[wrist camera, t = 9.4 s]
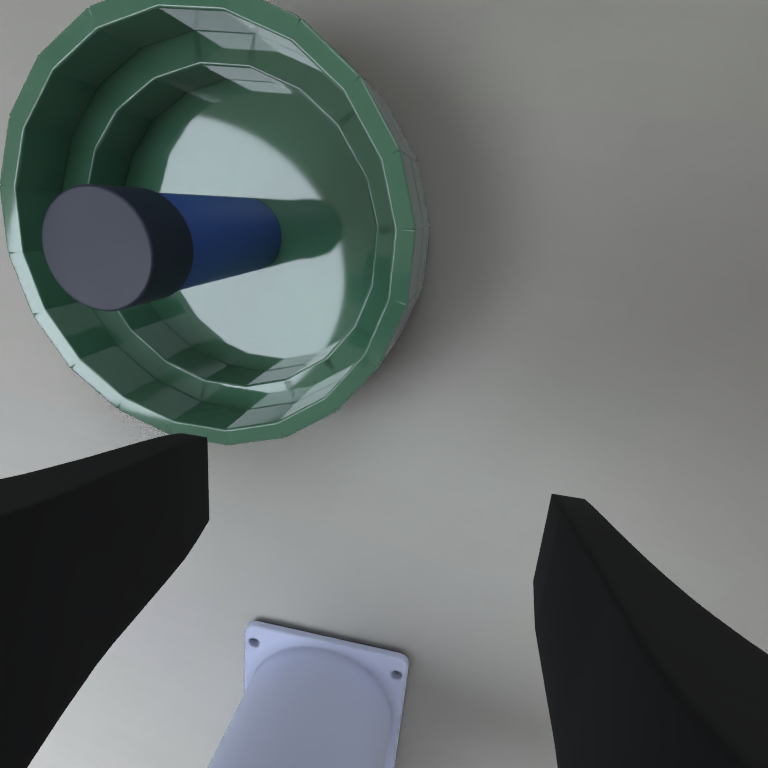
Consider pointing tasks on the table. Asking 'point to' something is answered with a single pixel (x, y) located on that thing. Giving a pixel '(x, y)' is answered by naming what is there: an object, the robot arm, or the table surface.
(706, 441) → the table surface
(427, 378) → the table surface
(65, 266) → the marker
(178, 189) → the bowl
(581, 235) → the table surface
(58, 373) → the table surface
